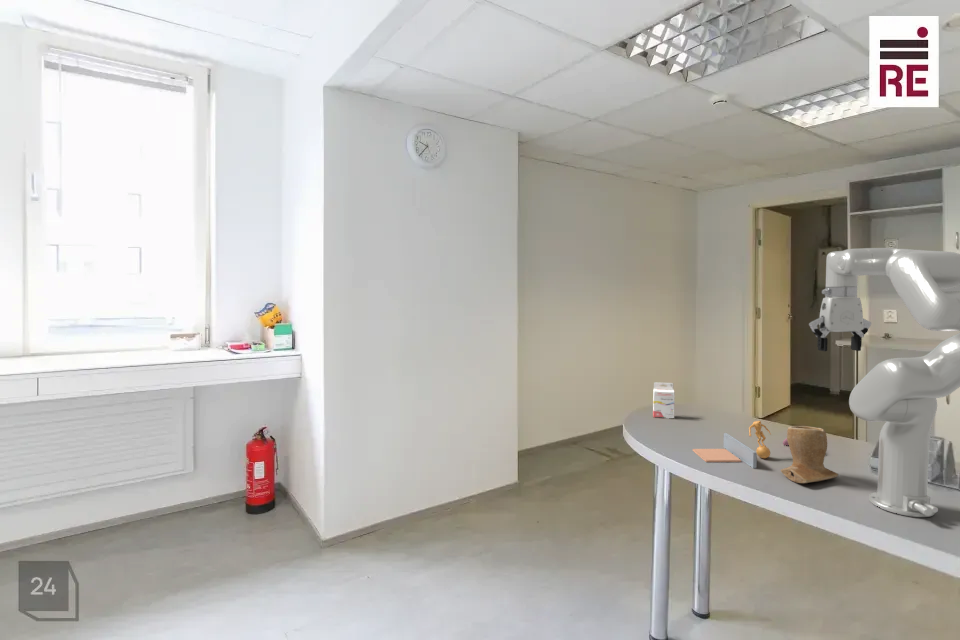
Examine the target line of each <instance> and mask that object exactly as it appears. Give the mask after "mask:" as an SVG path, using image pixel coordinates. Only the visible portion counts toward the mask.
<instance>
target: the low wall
mask: <svg viewBox="0 0 960 640" xmlns="http://www.w3.org/2000/svg"><path fill="white" fill-rule="evenodd" d="M725 448H726V450H728V451H729V452H730V453H733V455H735V456H736V457H737V458H740V460H741V462H744V463H745V464H747V466H749V467H750V466H751V468H752V469H757V457H758V455H757V452H756V450H754V449H752V448H750V447H749V446H747V445H746V444H744V443H743V442H741V441H739V440H738V439H737V438H735V437H733V436H732V435H730V434H729V433H727V432H724V433H723V449H725Z"/></svg>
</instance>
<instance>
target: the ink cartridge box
mask: <svg viewBox="0 0 960 640" xmlns="http://www.w3.org/2000/svg"><path fill="white" fill-rule="evenodd" d="M663 385H664V386H663ZM652 391H653V392H652V393H653V395H652V396H653V397H652V417H653V418H655V417H666V418H665V419H669V418H674V419H675V399H676V397H675V395H676V394H675V393H676V392H675V389H674V383H673V382H656V381H655V382H653V390H652Z"/></svg>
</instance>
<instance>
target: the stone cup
mask: <svg viewBox="0 0 960 640" xmlns="http://www.w3.org/2000/svg"><path fill="white" fill-rule="evenodd" d="M786 438H787V441H788V444H789V446H788V447H789V450H790V453H791V457H792V464H791V465H789V466H788V467H785V468H781V469H780V472H781V473H782V474H783V475H784V476H785V477H786V478H787V479H788V480H790V481H792V482H794V483H795V484H796V483H797V484H808V483H815V482H822V481H825V480H831V479H834V478H837V477H838V476H839V473H837V472H835V471H833V470H831V469H828V468H827V467H825V465H824V461H825V457H826V454H827V451H828V437H827V432H826V430H825V429H824V428H821V427H815V426H808V425H807V426H806V425H792V426H789V427H787V432H786Z"/></svg>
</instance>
